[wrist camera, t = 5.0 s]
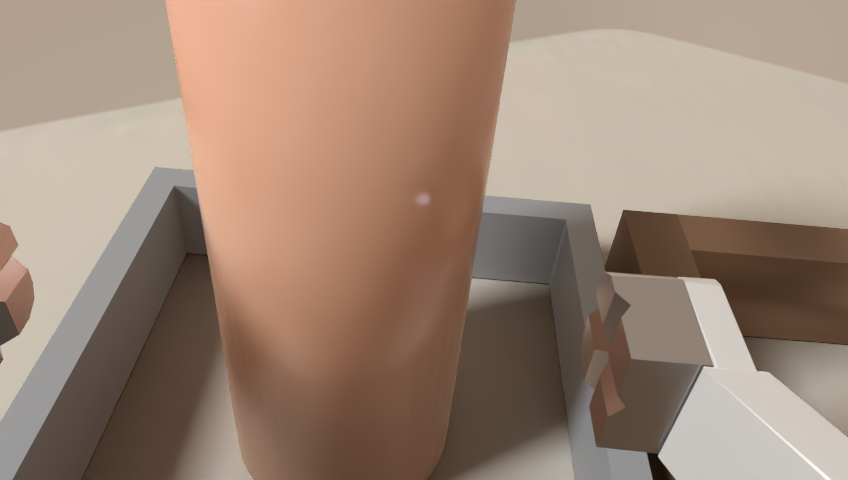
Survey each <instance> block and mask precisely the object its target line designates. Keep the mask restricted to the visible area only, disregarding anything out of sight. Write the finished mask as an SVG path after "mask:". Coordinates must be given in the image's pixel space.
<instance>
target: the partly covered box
mask: <svg viewBox="0 0 848 480" xmlns="http://www.w3.org/2000/svg"><path fill="white" fill-rule="evenodd" d="M605 272H613V273H627V274H640V275H653V276H667V277H675V278H677V277H690V278H705V279H715V280H716V281H717V282H719V283H720V284H721V286H722V289H723V291H724V293H725V296H726V298H727V300H728V303H729V305H730V307H731V310H732V312H733V315H734V317H735V319H736V322H737V324H738V326H739V329H740V331H741V333H742V336H753V337H765V338H777V339H789V340H800V341H812V342H824V343H836V344H848V229H839V228H827V227H816V226H804V225H793V224H781V223H769V222H758V221H746V220H735V219H723V218H712V217H700V216H688V215H677V214H665V213H654V212H642V211H630V210H623V213H622V216H621V219H620V222H619V225H618V228H617V232H616V235H615V238H614V241H613V244H612V247H611V250H610V253H609V256H608V259H607V262H606V266H605ZM658 455H659V454H657V453H647V457H648V461H649V465H650V470H651V474H652V479H653V480H676V479H675V478H674V477H673V475H672V474H671V473H670V472H669V470H668V469H667V468H666V466H665V465H664V464H663V463H662V461H661V460H660V459H659V457H658Z"/></svg>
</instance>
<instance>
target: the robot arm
mask: <svg viewBox="0 0 848 480" xmlns="http://www.w3.org/2000/svg"><path fill="white" fill-rule="evenodd" d="M17 246H18V243H17V241H16V239H15V237H14V235H13V232H12V230H11V228H10V226H8V225H5V224H3V223H0V346H1V345H2V344H4V343H6V342H7V341H9V340H11V339H12V338H14V337H16V336H18V335H19V334H20V333H21V331H22V329H23V328H24V326H25V324H26V323H27V321H28V320H29V318H30V313H31V309H32V305H33V301H34V290H33V282H32V279H31V276H30V274H29V271H28V269H27V268H26V267H24V266H23V265H22V264H21V263H20V262H18V261H17V260H16V259H15V258H13V257H12V255H13V253H14V252H15V250H16V248H17ZM596 296H597V301H598V307H599V308H598V309H596V310H595V311H593V312H592V313H591V314H589V315H588V318H587V322H586V326H585V329H584V334H583V343H582V366H583V373H584V379H585V381H586V382H587V383H588V384H589V385H590V386H591V387H592V388H593V389H594V393H593V396H592V399H591V402H590V405H589V409H590V415H591V420H592V426H593V432H594V437H595V443H596V447H600V448H609V449H619V450H628V451H638V452H647V453H657V454H659V455H658V457H659V459H660V460H661V461H662V463H663V464H664V465H665V466H666V468H667V469H668V470H669V472H670V473H671V474H672V475H673V477H674V478H675V479H676V480H848V437H847V436H846V435H844V434H843V433H842V432H841V431H839V430H838V429H837V428H836V427H835V426H833V425H832V424H831V423H830V422H829V421H827V420H826V419H825V418H824V417H822V416H821V415H820V414H819V413H818V412H816V411H815V410H814V409H813V408H812V407H810V406H809V405H808V404H807V403H806V402H804V401H803V400H802V399H801V398H799V397H798V396H797V395H796V394H795V393H793V392H792V391H791V390H790V389H789V388H787V387H786V386H785V385H784V384H782V383H781V382H780V381H779V380H778V379H776V378H775V377H774V376H773V375H772V374H770V373H769V372H763V371H757V369H756V367H755V364H754V362H753V359H752V357H751V355H750V352H749V350H748V348H747V345H746V343H745V341H744V338H743V336H742V333H741V331H740V329H739V326H738V324H737V322H736V319H735V317H734V315H733V312H732V310H731V307H730V305H729V303H728V300H727V298H726V296H725V293H724V291H723V289H722V286H721V284H720V283H719V282H717V281H716V280H715V279H705V278H690V277H677V278H675V277H667V276H653V275H640V274H627V273H613V272H605V273H604V274H603V276H602V277H601V279H600V281H599V284H598V287H597V290H596ZM2 360H3V357H2V353H1V349H0V363H1V362H2Z"/></svg>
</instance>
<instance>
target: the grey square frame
mask: <svg viewBox="0 0 848 480" xmlns="http://www.w3.org/2000/svg"><path fill="white" fill-rule="evenodd" d="M187 253H192V254H204V255H208V254H207V248H206V242H205V236H204V230H203V224H202V218H201V212H200V205H199V199H198V193H197V187H196V181H195V175H194V170H182V169H171V168H159V167H155V168H154V170H153V171H152V173H151V174H150V176H149V178H148V179H147V181H146V183H145V184H144V186H143V188H142V189H141V191H140V193H139V194H138V196H137V198H136V199H135V201H134V203H133V204H132V206H131V207H130V209H129V211H128V212H127V214H126V216H125V217H124V219H123V221H122V222H121V224H120V226H119V227H118V229H117V231H116V232H115V234H114V235H113V237H112V239H111V240H110V242H109V244H108V245H107V247H106V249H105V250H104V252H103V254H102V255H101V257H100V259H99V260H98V262H97V263H96V265H95V267H94V268H93V270H92V272H91V273H90V275H89V277H88V278H87V280H86V282H85V283H84V285H83V287H82V288H81V290H80V292H79V293H78V295H77V296H76V298H75V300H74V301H73V303H72V305H71V306H70V308H69V310H68V311H67V313H66V315H65V316H64V318H63V320H62V321H61V323H60V324H59V326H58V328H57V329H56V331H55V333H54V334H53V336H52V338H51V339H50V341H49V343H48V344H47V346H46V348H45V349H44V351H43V353H42V354H41V356H40V357H39V359H38V361H37V362H36V364H35V366H34V367H33V369H32V371H31V372H30V374H29V376H28V377H27V379H26V381H25V382H24V384H23V385H22V387H21V389H20V390H19V392H18V394H17V395H16V397H15V399H14V400H13V402H12V404H11V405H10V407H9V409H8V410H7V412H6V413H5V415H4V417H3V418H2V420H1V422H0V480H81V479H82V477H83V475H84V473H85V471H86V468H87V466H88V464H89V462H90V460H91V458H92V456H93V453H94V451H95V449H96V447H97V445H98V443H99V441H100V438H101V436H102V434H103V432H104V430H105V428H106V426H107V423H108V421H109V419H110V417H111V415H112V413H113V410H114V408H115V406H116V404H117V402H118V400H119V398H120V395H121V393H122V391H123V389H124V387H125V385H126V383H127V380H128V378H129V376H130V374H131V372H132V370H133V368H134V365H135V363H136V361H137V359H138V357H139V355H140V353H141V350H142V348H143V346H144V344H145V342H146V340H147V338H148V335H149V333H150V331H151V329H152V327H153V325H154V323H155V320H156V318H157V316H158V314H159V312H160V310H161V308H162V305H163V303H164V301H165V299H166V297H167V295H168V292H169V290H170V288H171V286H172V284H173V282H174V280H175V277H176V275H177V273H178V271H179V269H180V267H181V265H182V262H183V260H184V258H185V256H186V254H187ZM604 273H605V267H604V263H603V258H602V254H601V250H600V245H599V241H598V236H597V232H596V228H595V223H594V219H593V214H592V210H591V205H588V204H576V203H565V202H553V201H542V200H530V199H518V198H507V197H495V196H485V198H484V204H483V211H482V217H481V223H480V230H479V236H478V242H477V249H476V255H475V261H474V267H473V274H472V277H475V278H487V279H499V280H511V281H522V282H534V283H546V284H549V286H550V294H551V301H552V309H553V316H554V324H555V331H556V339H557V346H558V354H559V361H560V369H561V376H562V384H563V391H564V399H565V406H566V414H567V422H568V429H569V437H570V444H571V452H572V459H573V467H574V474H575V480H653V479H652V474H651V470H650V465H649V461H648V457H647V452H638V451H628V450H619V449H609V448H600V447H596V443H595V437H594V432H593V426H592V420H591V415H590V409H589V405H590V402H591V399H592V396H593V393H594V389H593V388H592V387H591V386H590V385H589V384H588V383H587V382H586V381H585V379H584V373H583V366H582V343H583V334H584V329H585V326H586V322H587V318H588V315H589V314H591V313H592V312H593V311H595V310H596V309H598V308H599V307H598V301H597V296H596V290H597V287H598V284H599V281H600V279H601V277H602V276H603V274H604Z"/></svg>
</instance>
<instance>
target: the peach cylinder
mask: <svg viewBox="0 0 848 480" xmlns="http://www.w3.org/2000/svg"><path fill="white" fill-rule="evenodd" d="M515 2H516V0H166V6H167V12H168V18H169V24H170V30H171V36H172V42H173V47H174V54H175V61H176V67H177V73H178V79H179V85H180V91H181V97H182V103H183V109H184V115H185V121H186V127H187V133H188V139H189V145H190V151H191V157H192V163H193V169H194V175H195V181H196V187H197V193H198V199H199V205H200V212H201V218H202V224H203V230H204V236H205V242H206V248H207V254H208V260H209V266H210V272H211V278H212V284H213V290H214V296H215V302H216V308H217V314H218V320H219V326H220V332H221V338H222V344H223V350H224V356H225V362H226V369H227V375H228V381H229V387H230V393H231V399H232V405H233V411H234V417H235V423H236V429H237V435H238V441H239V447H240V451H241V455H242V458H243V461H244V463H245V465H246V467H247V470H248V471H249V473H250V474H251V476H252V477H253V479H254V480H427V479H428V478H429V477H430V475H431V474H432V473H433V471H434V469H435V468H436V466H437V465H438V463H439V460H440V458H441V456H442V453H443V450H444V447H445V443H446V438H447V431H448V425H449V419H450V412H451V406H452V400H453V393H454V387H455V381H456V375H457V368H458V362H459V356H460V349H461V343H462V337H463V330H464V324H465V318H466V312H467V305H468V299H469V293H470V286H471V280H472V274H473V267H474V261H475V255H476V249H477V242H478V236H479V230H480V223H481V217H482V211H483V204H484V198H485V192H486V186H487V179H488V173H489V167H490V160H491V154H492V148H493V141H494V135H495V129H496V123H497V116H498V110H499V104H500V97H501V91H502V85H503V78H504V72H505V66H506V60H507V53H508V47H509V41H510V34H511V28H512V22H513V15H514V9H515Z"/></svg>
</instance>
